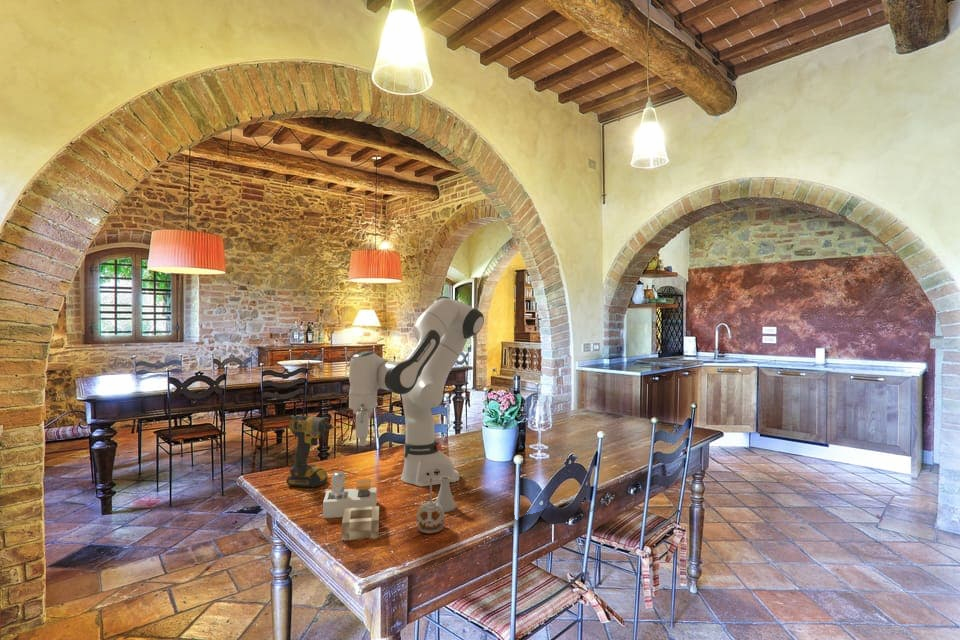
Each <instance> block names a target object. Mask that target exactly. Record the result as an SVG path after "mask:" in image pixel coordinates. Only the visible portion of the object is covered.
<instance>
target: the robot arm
mask: <svg viewBox="0 0 960 640" xmlns="http://www.w3.org/2000/svg"><path fill="white" fill-rule="evenodd" d="M484 321H485V317H484V314H483V313H482V312H481V310H479V309H477V308H474V307H472V306H471V305H469V304H467V303H465V302H464V301H463V302H461V301H459V300H456V299H453V298H451V297H449V296H444V295H442V296H439V297H437V298H435V299H434V300H433V302H432V304H431V305H430V306H428V307H427V308H425V310H424V311H423V312H422V313H421V314H420V315H419V316H418V317H417V319H416V320H415V321H414V324H413V326H412V327H413V328H412V330H413V335H414V337H415V338H416V340H417V344H416V346H415V347H414V349H412V351H411V353H410V354H409V355H408V356H407V358H406V359H404V360H402V361H392V360H389V359H385V358H383V357H381V356H379V355H378V354H376V353H375V352H374V351H373V350H372V351H359V352H357V353H355V354H353V355H352V356H351V358H350V363H349V369H348V373H349V374H348V381H349V385H350V386H349V392H348V408H349V409H350V410H352V413H353V414H355V438H357V439H359V446H361V447H363V446H364V447H365V446H366V445H367V444H366V443H367V437H368V435H369V430H370V429H369V427H370V423H371V422H370V421H371V416H372V415H371V414H372V413H374V409H375V408H377V407H378V390H379V389H382V390H386V391H389V392H392V393H395V394H396V395H400V396H401V400H402V407H403V413H404V414H403V415H404V420H405V441H404V444H403V455H404V464H403V468H402V474H401V477H400V480H401V481H402V482H404V483H406V484H411V485H415V486H417V487H427V486H429V487H430V478H432V486H434V485H441V480H440V478H441V477H444V476H445V477H450V480H449V484H451V483H457V482H458V481H460V473H459V472H458V470H456V469H455V468H454V463H453V461H452V459H451V458H450V457H449V456H448V455H446V454H445V453H443V451H441V450H442V448H443V447H442V444H441V443H440V442H438V441H437V440H435V420H434V416H433V414H432V410H431V409H435V408H437V407H438V406H439V405H440V404H441V403H442V401H443V398H444V388H445V384H446V381H447V379H448V376H449V374H450V372H451V370H452V369H453V367H454V365H455V364H456V363H457V360H458V359H459V358H460V356H461V355H462V352H463V350H464V348H465V346H466V343H467V341H468V339H470V338H471V337H474V336H475V335H477V334H478V333H479V332H480V331H481V330H482V328H483V326H484ZM456 481H457V482H456ZM450 482H451V483H450Z"/></svg>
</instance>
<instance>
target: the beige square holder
mask: <svg viewBox="0 0 960 640" xmlns="http://www.w3.org/2000/svg"><path fill="white" fill-rule="evenodd" d="M341 520H342V522H341V541H343V540H344V541H353V540H356V541H357V540H364V538H369V539H378V538H379V537H380V536H379V535H380V533H379V531H380V529H379V527H380V505H376V506H372V507H358V508H345V510H344V515H343V517H342V519H341Z"/></svg>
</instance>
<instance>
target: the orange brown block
mask: <svg viewBox="0 0 960 640" xmlns="http://www.w3.org/2000/svg"><path fill="white" fill-rule="evenodd" d="M371 485H372V478H365V479H356V485H355V489H356V490H359V497H369V489H370V488H372V487H371Z"/></svg>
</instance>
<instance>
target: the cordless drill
mask: <svg viewBox="0 0 960 640" xmlns="http://www.w3.org/2000/svg"><path fill="white" fill-rule="evenodd" d="M334 428H336V429H341V428H342V427H341V426H334V425H333V424H332V423H329V421H328V419H326V418H322V417H318V416H310V415H299V414H298V415H294V416H292V417H290V420H289V421H288V430H289V431H290V432H291V433H292V435H294V436H296V437H297V445H296V449H295V454H294V462H293V465H292V466H291V467H290V469H289V474H290V475H289V476H287V479H286V485H288V486H290V487H291V486H293V487H303V488H304V487H305V488H317V487H322V486H323V485H325V484H326V483H327V482H328V474H327V472H326V471H325V469H323V468H322V467H320V466H319V465H318V466H317V465H315V464H308V463H307V459H308V456H309V454H310V450H311V446H317V445H318V439H320V438H322V437H323V436H324V434H326V432H327V431H328V430H332V429H334Z"/></svg>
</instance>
